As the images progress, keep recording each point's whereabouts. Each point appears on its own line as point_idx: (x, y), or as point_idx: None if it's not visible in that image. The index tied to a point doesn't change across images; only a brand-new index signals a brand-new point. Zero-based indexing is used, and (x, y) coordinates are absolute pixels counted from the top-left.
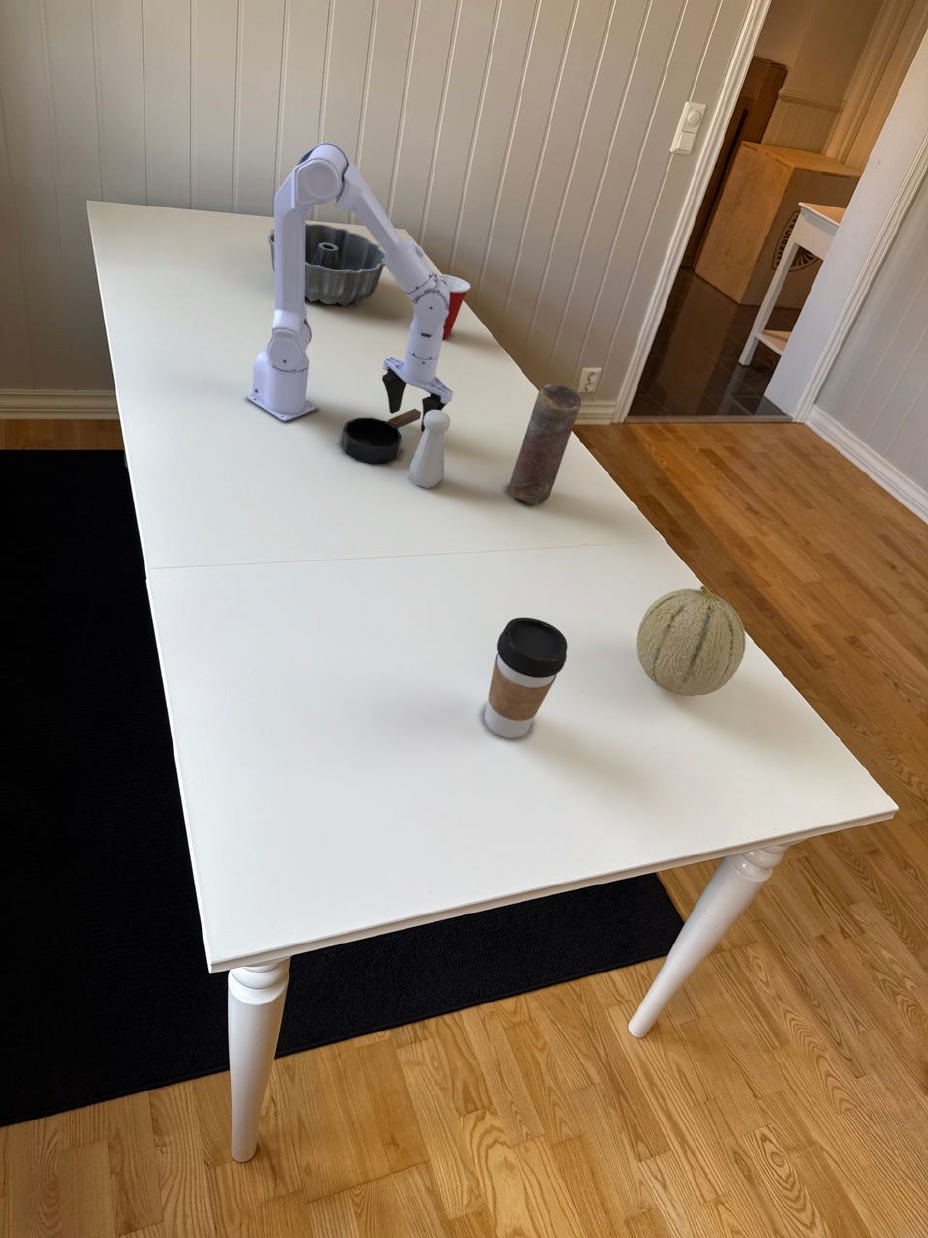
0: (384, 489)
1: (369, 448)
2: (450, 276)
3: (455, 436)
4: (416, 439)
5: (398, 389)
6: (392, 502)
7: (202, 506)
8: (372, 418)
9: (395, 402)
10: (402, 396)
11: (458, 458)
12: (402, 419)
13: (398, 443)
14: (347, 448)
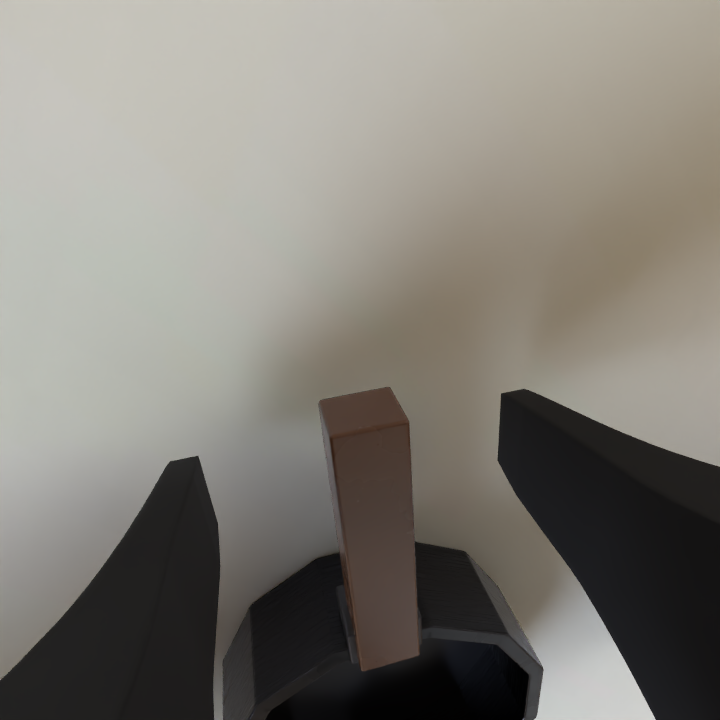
0: (589, 686)
1: None
2: None
3: (576, 120)
4: (436, 411)
5: (188, 704)
6: None
7: None
8: (271, 706)
9: (206, 583)
10: (175, 537)
11: (710, 309)
12: (408, 596)
13: (541, 671)
14: None
